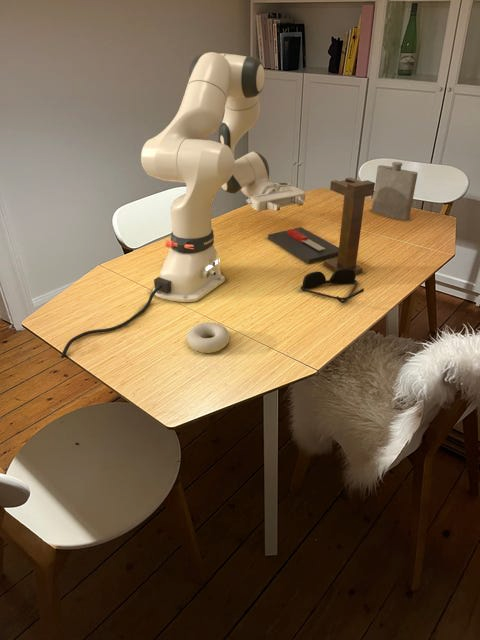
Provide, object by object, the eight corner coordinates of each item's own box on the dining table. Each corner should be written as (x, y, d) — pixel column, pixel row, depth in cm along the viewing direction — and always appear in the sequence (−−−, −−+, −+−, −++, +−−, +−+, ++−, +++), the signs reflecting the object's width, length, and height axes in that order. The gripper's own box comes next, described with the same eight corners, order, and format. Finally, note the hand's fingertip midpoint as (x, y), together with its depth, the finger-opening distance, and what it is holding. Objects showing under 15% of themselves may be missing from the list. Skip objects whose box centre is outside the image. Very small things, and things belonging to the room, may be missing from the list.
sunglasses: (317, 313, 121) (319, 296, 118) (298, 287, 133) (299, 272, 130) (377, 305, 124) (380, 288, 121) (353, 280, 136) (355, 265, 133)
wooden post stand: (323, 265, 145) (331, 177, 130) (341, 260, 148) (350, 174, 133) (344, 278, 137) (354, 186, 123) (362, 272, 140) (375, 182, 126)
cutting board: (267, 238, 164) (267, 234, 163) (300, 231, 169) (301, 227, 168) (308, 264, 146) (308, 259, 145) (343, 254, 151) (344, 250, 150)
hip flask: (410, 219, 178) (420, 165, 167) (405, 221, 175) (414, 167, 165) (374, 209, 188) (381, 158, 177) (368, 211, 185) (375, 160, 175)
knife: (286, 234, 163) (287, 229, 162) (293, 232, 164) (293, 228, 163) (318, 252, 149) (319, 248, 148) (325, 251, 150) (325, 246, 149)
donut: (230, 355, 106) (229, 330, 114) (229, 343, 104) (229, 318, 112) (185, 356, 106) (188, 331, 114) (184, 344, 104) (187, 319, 112)
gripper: (243, 191, 163) (263, 202, 153) (292, 182, 171) (314, 192, 161) (243, 208, 167) (263, 220, 156) (291, 199, 175) (313, 209, 164)
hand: (290, 205), depth 159 cm, fingers open, 8 cm apart
